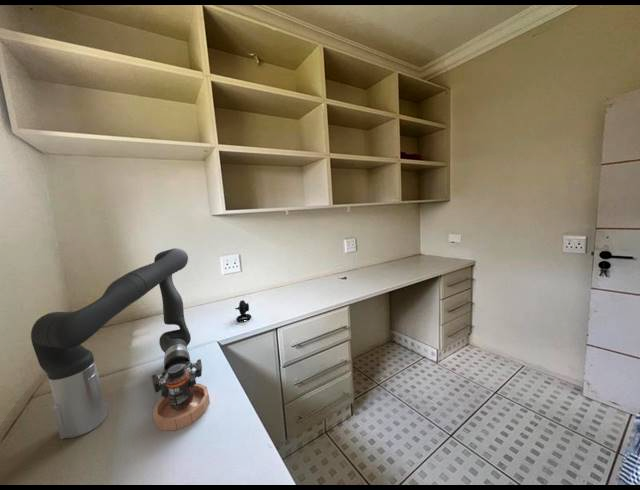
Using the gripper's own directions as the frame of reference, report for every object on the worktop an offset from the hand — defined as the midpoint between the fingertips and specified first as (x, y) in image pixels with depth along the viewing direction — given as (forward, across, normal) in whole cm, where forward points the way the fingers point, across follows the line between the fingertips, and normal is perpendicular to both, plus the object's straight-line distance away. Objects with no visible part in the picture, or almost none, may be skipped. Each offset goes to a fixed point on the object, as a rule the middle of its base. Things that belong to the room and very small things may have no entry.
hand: (179, 389), depth 72 cm
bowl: (-2, 0, +8) cm, 8 cm away
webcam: (-53, +31, +9) cm, 62 cm away
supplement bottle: (-2, 0, +6) cm, 7 cm away
